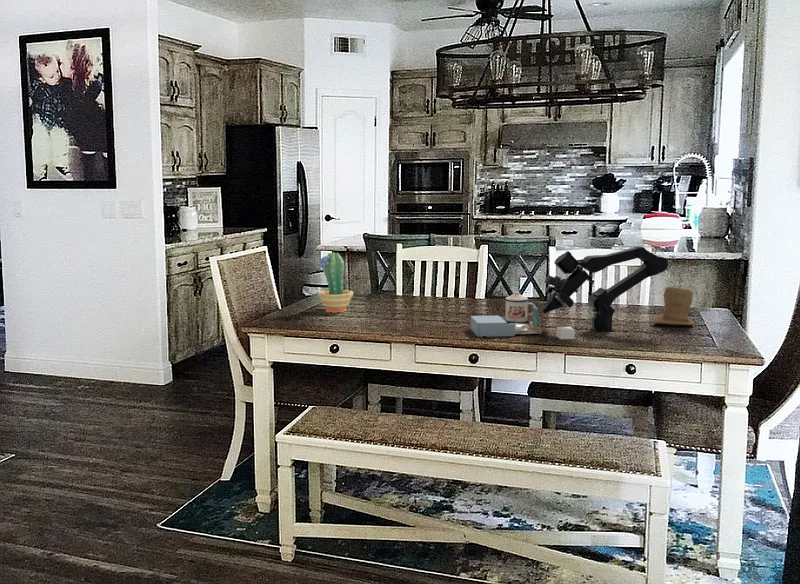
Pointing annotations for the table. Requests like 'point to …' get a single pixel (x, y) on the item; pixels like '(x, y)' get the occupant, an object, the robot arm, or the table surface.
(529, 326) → the tray
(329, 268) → the potted cactus
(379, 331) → the table surface
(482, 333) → the housing
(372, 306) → the table surface
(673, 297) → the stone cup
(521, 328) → the disc
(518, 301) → the teacup with lid
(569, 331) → the pedestal
